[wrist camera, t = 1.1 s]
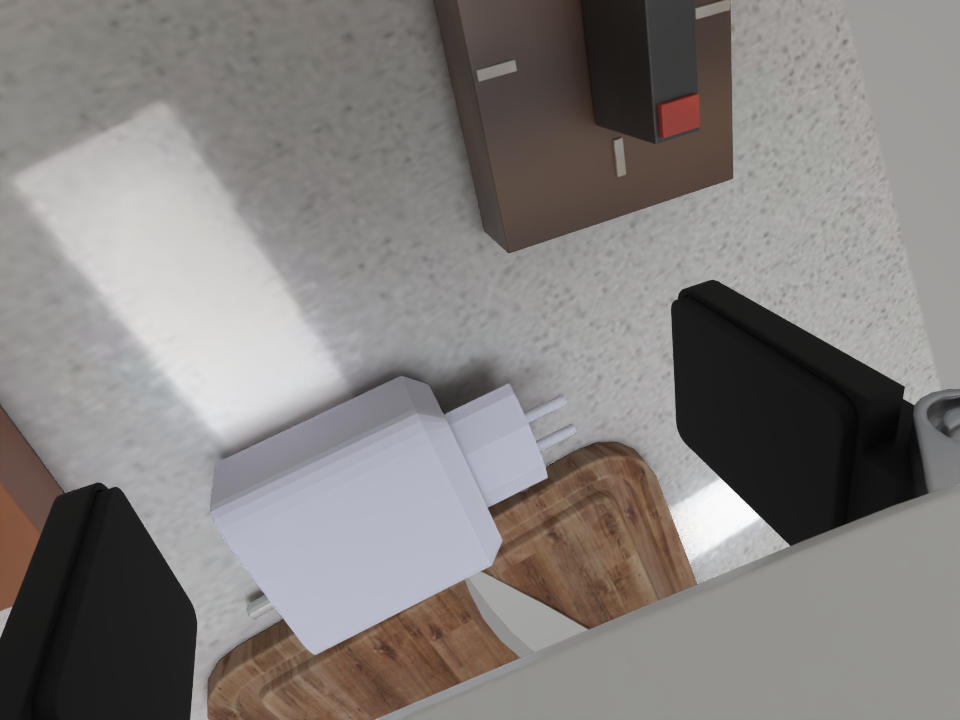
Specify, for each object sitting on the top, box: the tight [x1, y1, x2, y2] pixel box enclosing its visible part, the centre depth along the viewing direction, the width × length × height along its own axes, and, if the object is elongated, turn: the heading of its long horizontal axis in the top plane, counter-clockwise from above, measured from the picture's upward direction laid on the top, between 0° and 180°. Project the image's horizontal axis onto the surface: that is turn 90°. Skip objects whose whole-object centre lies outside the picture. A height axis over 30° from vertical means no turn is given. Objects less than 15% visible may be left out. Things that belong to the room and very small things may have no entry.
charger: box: [210, 376, 577, 655], centre depth 30 cm, size 5×9×15 cm
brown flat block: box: [433, 0, 733, 253], centre depth 24 cm, size 13×10×3 cm
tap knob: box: [581, 0, 700, 144], centre depth 21 cm, size 6×2×4 cm, turn 13°
